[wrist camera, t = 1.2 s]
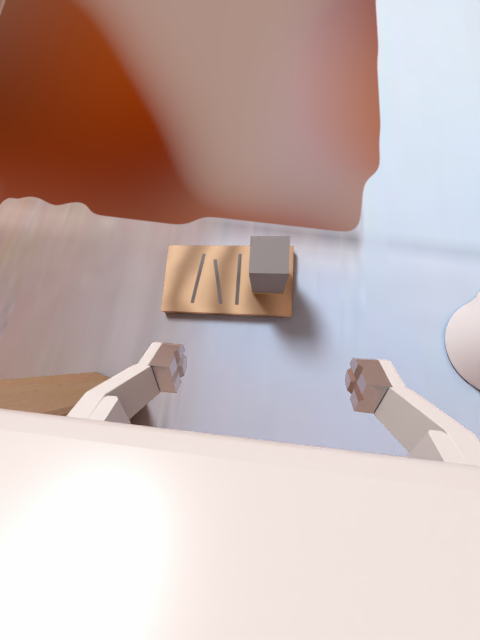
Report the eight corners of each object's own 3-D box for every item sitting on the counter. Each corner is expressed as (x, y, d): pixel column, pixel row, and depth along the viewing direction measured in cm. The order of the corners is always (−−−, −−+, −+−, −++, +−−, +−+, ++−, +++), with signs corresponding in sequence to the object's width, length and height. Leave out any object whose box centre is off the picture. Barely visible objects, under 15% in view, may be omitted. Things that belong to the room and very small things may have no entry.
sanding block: (283, 265, 37) (289, 236, 28) (283, 294, 36) (288, 273, 28) (253, 265, 38) (250, 236, 29) (252, 293, 37) (248, 272, 28)
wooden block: (71, 426, 38) (-135, 498, 18) (96, 369, 39) (-73, 381, 20) (121, 450, 36) (-47, 557, 17) (145, 391, 38) (16, 426, 18)
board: (292, 250, 39) (293, 245, 38) (290, 317, 37) (292, 315, 36) (172, 249, 42) (168, 245, 40) (164, 312, 40) (160, 310, 38)
